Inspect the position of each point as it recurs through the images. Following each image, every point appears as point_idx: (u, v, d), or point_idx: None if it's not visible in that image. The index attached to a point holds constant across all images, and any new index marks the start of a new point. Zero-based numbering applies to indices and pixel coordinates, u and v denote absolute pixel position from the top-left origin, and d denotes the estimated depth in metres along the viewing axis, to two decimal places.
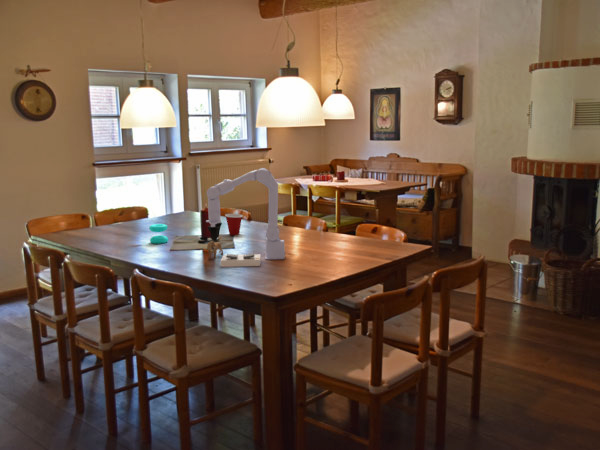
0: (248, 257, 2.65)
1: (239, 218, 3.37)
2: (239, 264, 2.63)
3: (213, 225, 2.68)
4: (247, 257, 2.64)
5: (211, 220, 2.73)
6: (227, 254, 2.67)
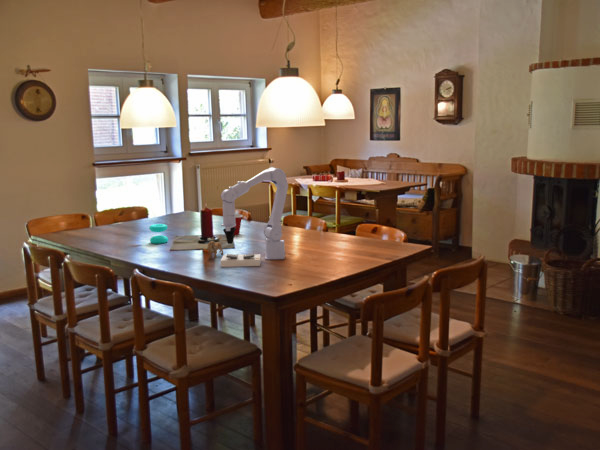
0: (248, 257, 2.65)
1: (239, 218, 3.37)
2: (239, 264, 2.63)
3: (228, 229, 2.61)
4: (247, 257, 2.64)
5: (226, 224, 2.65)
6: (227, 254, 2.67)
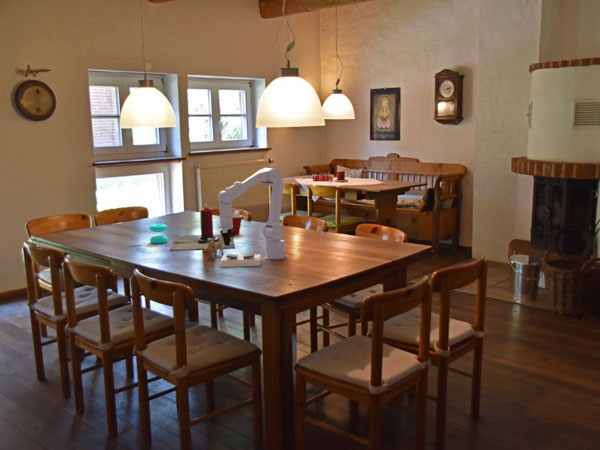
0: (248, 257, 2.65)
1: (239, 218, 3.37)
2: (239, 264, 2.63)
3: (225, 231, 2.57)
4: (247, 257, 2.64)
5: (223, 226, 2.61)
6: (227, 254, 2.67)
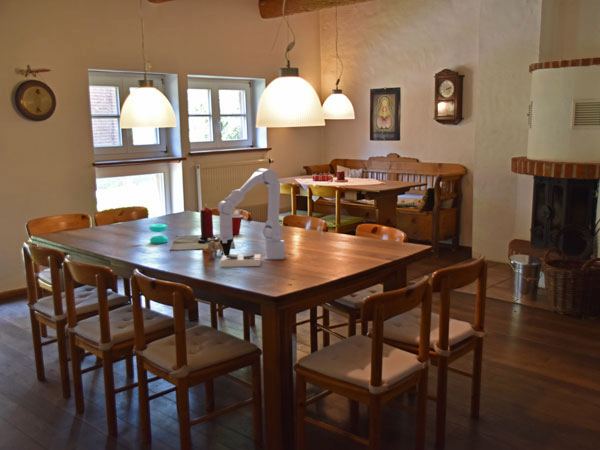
0: (248, 257, 2.65)
1: (239, 218, 3.37)
2: (239, 264, 2.63)
3: (225, 241, 2.58)
4: (247, 257, 2.64)
5: (223, 236, 2.62)
6: None
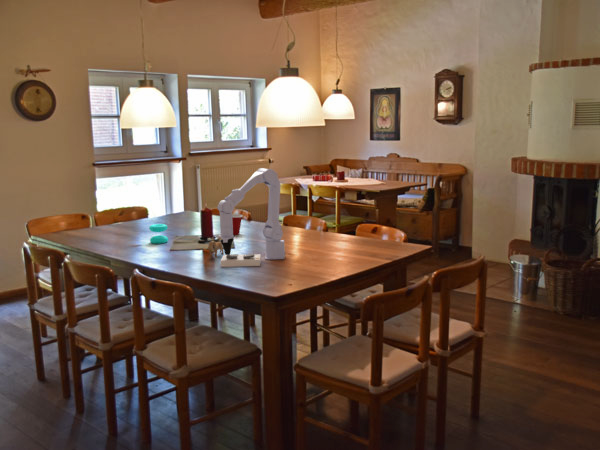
0: (248, 257, 2.65)
1: (239, 218, 3.37)
2: (239, 264, 2.63)
3: (225, 241, 2.58)
4: (247, 257, 2.64)
5: (223, 235, 2.62)
6: (227, 255, 2.67)
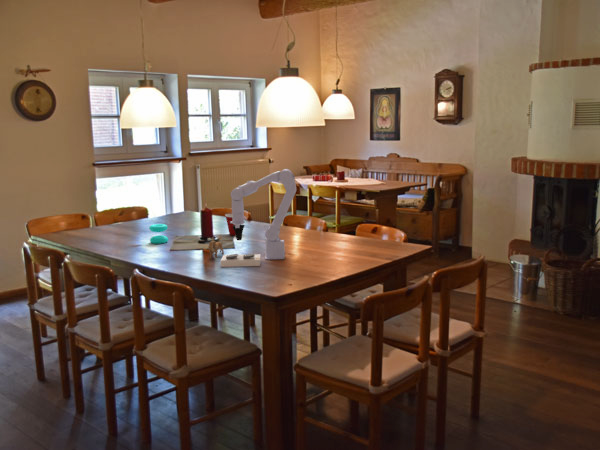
0: (248, 257, 2.65)
1: None
2: (239, 264, 2.63)
3: (238, 226, 2.70)
4: (247, 257, 2.64)
5: (235, 221, 2.74)
6: (227, 255, 2.67)
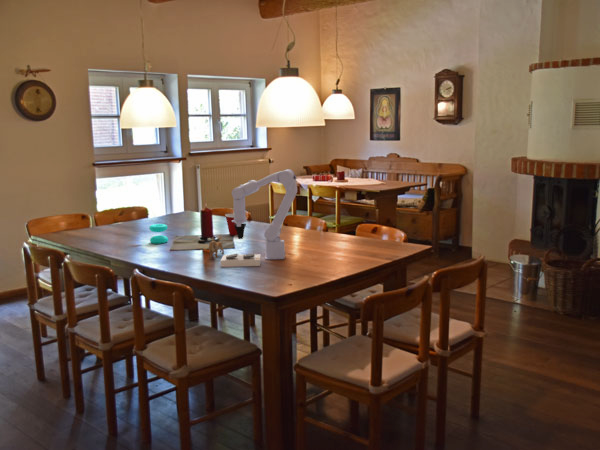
0: (248, 257, 2.65)
1: None
2: (239, 264, 2.63)
3: (239, 225, 2.72)
4: (247, 257, 2.64)
5: (237, 220, 2.76)
6: (226, 256, 2.67)
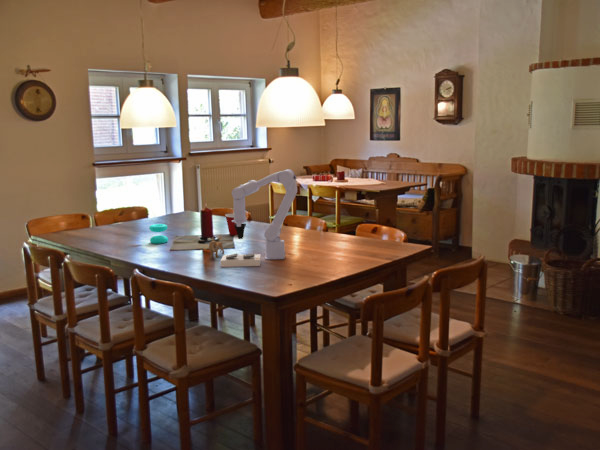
0: (248, 257, 2.65)
1: None
2: (239, 264, 2.63)
3: (239, 225, 2.72)
4: (247, 257, 2.64)
5: (237, 220, 2.76)
6: (226, 256, 2.67)
